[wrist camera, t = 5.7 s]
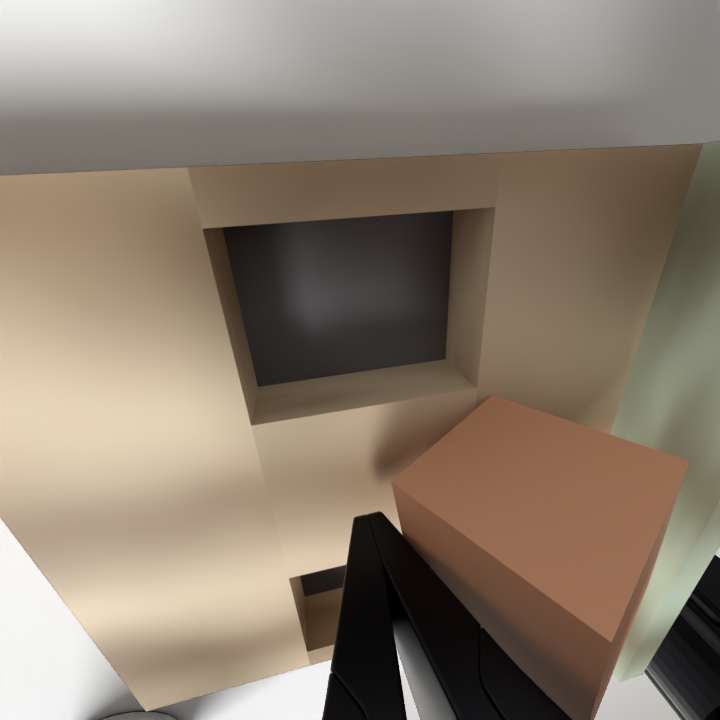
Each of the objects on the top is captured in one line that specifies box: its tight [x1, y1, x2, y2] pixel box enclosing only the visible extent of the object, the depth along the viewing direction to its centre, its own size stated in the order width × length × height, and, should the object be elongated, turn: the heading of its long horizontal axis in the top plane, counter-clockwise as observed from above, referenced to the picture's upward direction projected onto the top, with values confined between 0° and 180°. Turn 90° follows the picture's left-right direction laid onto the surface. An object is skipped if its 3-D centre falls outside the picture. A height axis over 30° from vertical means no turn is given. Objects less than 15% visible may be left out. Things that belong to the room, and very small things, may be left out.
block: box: [391, 395, 689, 720], centre depth 8 cm, size 4×4×4 cm
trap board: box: [0, 141, 720, 712], centre depth 9 cm, size 17×18×5 cm
